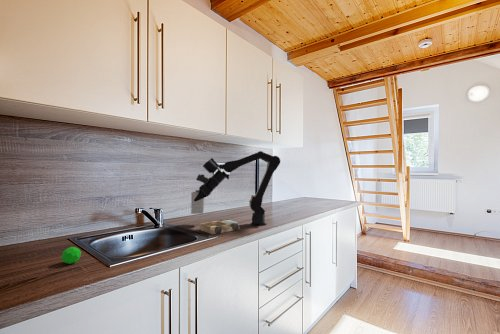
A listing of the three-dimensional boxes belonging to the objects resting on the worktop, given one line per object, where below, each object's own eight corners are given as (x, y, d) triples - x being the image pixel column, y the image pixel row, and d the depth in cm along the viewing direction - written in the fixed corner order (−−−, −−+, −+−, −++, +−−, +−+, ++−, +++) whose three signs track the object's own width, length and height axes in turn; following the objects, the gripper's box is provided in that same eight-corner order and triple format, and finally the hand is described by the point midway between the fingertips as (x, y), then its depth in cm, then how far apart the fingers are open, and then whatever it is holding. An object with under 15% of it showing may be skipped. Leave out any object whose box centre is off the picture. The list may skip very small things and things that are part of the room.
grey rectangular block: (203, 211, 137) (204, 189, 137) (202, 213, 131) (203, 190, 131) (192, 211, 136) (192, 189, 136) (191, 213, 130) (191, 190, 130)
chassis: (226, 225, 134) (226, 219, 134) (240, 229, 124) (240, 223, 124) (198, 229, 123) (198, 223, 123) (212, 234, 113) (212, 227, 113)
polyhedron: (80, 263, 78) (81, 248, 78) (61, 267, 75) (61, 251, 75) (80, 259, 82) (80, 244, 82) (61, 262, 79) (62, 247, 79)
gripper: (206, 169, 143) (187, 188, 142) (203, 169, 125) (181, 191, 124) (220, 182, 144) (201, 202, 143) (219, 184, 125) (197, 206, 124)
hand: (195, 200), depth 133 cm, fingers closed on grey rectangular block, 6 cm apart
